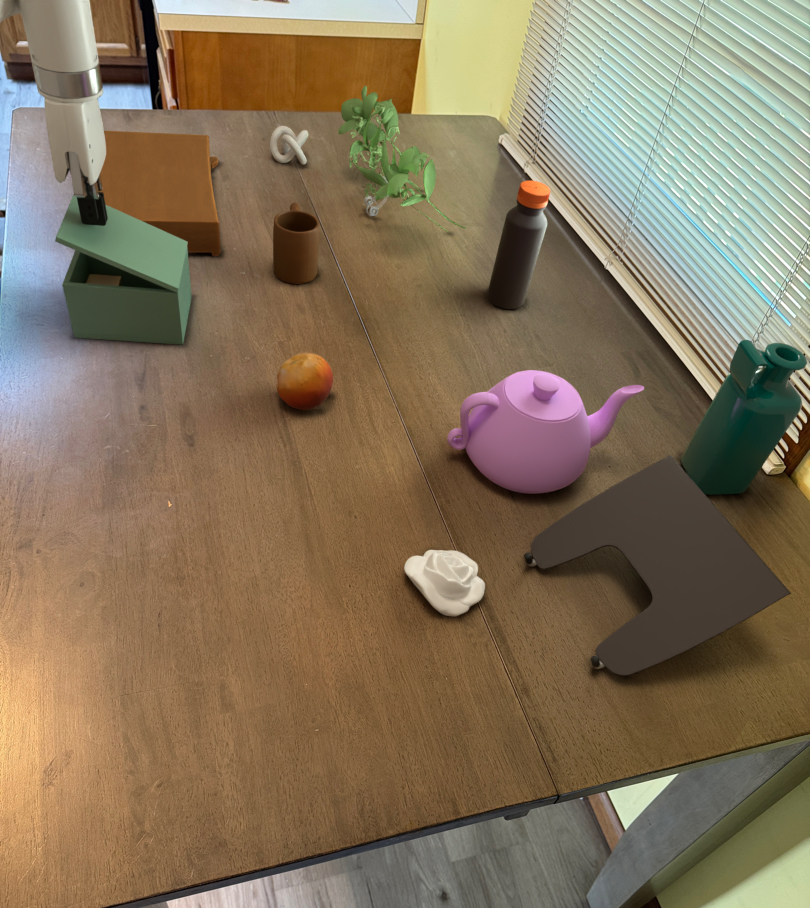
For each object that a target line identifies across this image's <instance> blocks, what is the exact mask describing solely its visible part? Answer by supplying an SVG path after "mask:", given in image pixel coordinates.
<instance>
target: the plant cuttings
mask: <svg viewBox="0 0 810 908" xmlns="http://www.w3.org/2000/svg"><path fill="white" fill-rule="evenodd" d="M367 93H368V85H364V86H363V87H362V89H361V99H360V98H358V97H354V98H350V99H347V100H345V101H343V103H341V106H340V107H341V108H340V115H341V118H342V120H343V121H344V123H343V124H342V125H340V127H339V128H338V132H337V134H338V135H342V134H343V135H344V134H345V133H347V132H350V137H351V138H355V137H357V136H358V135H359V136H361V137H362V139H363V141H362V140H359V139H357V140H355V141H354V142H353V143H352V144H351V145H350V148H349V158H348V163H349V169H352V167H353V165H354V166H355V167H356V168H357V169H358V170H359V172H360V173H361V174H362V175H363V176H364V177H365V178H366V179H367V180H369V181H370V182H369V183H367V184H365V186H366V187H365V188H364V196H365V197H363V198H364V199H363V204H364V206H366V210H368V209H369V212H368V211H366V213H367V215H368V217H373V216H374V217H375V216H377V215H378V213H379V210H380V209H381V208H382V206H383V205H384V204H385V203H386V202H387V201H388V199H389V198H393V199H398V198H399V199H401V200H403V199H404V200H403V201H402V202H401V203H400V207H408V206H411V207H413V208H414V209H415V210H416V211H417V212H419V213H421V214H422V215H423V216H424V217H426V219H429V221H431V222H432V223H434V224H435V225H437V226H438V227H439V228H441V229H443V230H444V231H445V232H448V233H449V231H448V230H447V229H446V228H444V227H443V226H442V225H440V224H438V223H437V222H436V221H434V220H433V219H432V218H430V217H429V216H428V215H426V214H424V213H423V212H421V211H420V210H419V209H417V208H416V207H414V205H415V204H418V203H420V202H422V201H424V200H425V201H426V203H429V204H430V205H431V206H432V207H433V208H434V209H435V210H436V211H437V212H438V213H439V214H440V215H441V216H442V218H444V219H446V220H447V221H448V222H451V223H452V224H453V225H455V226H457V227H459V228H462V229H464V230H466V229H467V227H466V226H465V227H464V226H462V225H460V224H458V223H456V222H455V221H454V220H452V219H450V218H449V217H448V216H447V215H445V214H444V213H443V212H442V211H441V210H439V208H437V207H436V206H435V204H434V203H432V201H430V199H431V197H432V195H433V192H434V190H435V186H436V179H437V171H436V170H437V169H436V165H435V163H434V161H433V160H434V159H433V158H430V160H429V161H428V162H427V158H429V157H431V156H432V154H430V155H428V154H427V152H420V149H419V148H418V146H416V145H414V146H411V147H409V148H406V149H405V150H404V151H403V152H402V151H401V149H399V148H398V147H397V146H396V145H395V141H396V140H397V138H398V135H400V134H401V132H400V129H399V127H400V126H399V116H398V111H397V108H396V107H395V105H394V103H393V102H392V100H393V98H389V99H388V100H383V101H378V98H379V95H378V93H377V92H374V91H371V92H370V93H369V94H368V95H367ZM375 115H378V116H375ZM379 117H380V118H379ZM372 118H373V119H375V120H376V123H377V125H376V124H375V123H374V122H373V121H372ZM378 125H379V126H378ZM382 125H383V128H384V129H382ZM352 130H353V131H352ZM356 132H357V133H356ZM395 134H398V135H395ZM387 142H388V143H390V144H391V145H392V156H391V157H392V158H391V163H390V161H389V155H388V147H387ZM379 144H380V145H379ZM395 149H396V150H395ZM365 151H367V152H366V154H367V156H369V159H368V160H367V159H366V158H365V156H364V155H363V152H365ZM396 151H397V152H396ZM369 153H370V154H369ZM396 153H397V154H398V156H399V159H398V160H399V161H398V164H397V157H396ZM358 156H359V157H358ZM360 158H361V161H363V162H367V163H368V167H369V168H366V167H361V166H358V164H357V163H359V161H358V160H360ZM379 162H380V165H378V164H379ZM426 162H427V163H426ZM425 163H426V164H425ZM378 168H380V170H381V172H380V171H379V172H377V171H376V169H378ZM420 171H421V172H422V171H423V173H422V175H423V176H422V178H423V179H422V180H423V181H422V182H423V188H424V189H423V190H424V194H423V193H422V192H421V191H420V190H421V188H420V187H419V186H418V185H417V184H416V183H415V182H413V181H412V180H410V179H409V176H410V174H409V173H410V172H411V173H412V174H414V175H415V176H416V178H418V177H419V174H420ZM371 183H373V184H371ZM406 183H408V184H409V185H411V186H412V187H413V188H414V189H415V190H416V191H417V192H418V193H416V192H415V191H414V189H413V188H411V187H407V184H406ZM376 187H378V190H377V189H376ZM403 187H404V188H405V189H404V188H403ZM408 192H410V193H411V196H410V195H409V193H408ZM369 193H371V194H369ZM371 195H374V196H373V197H372V196H371ZM405 198H406V199H405ZM379 200H382V201H380V203H379V204H378V203H377V202H378V201H379ZM373 203H375V205H376V206H374V205H373Z"/></svg>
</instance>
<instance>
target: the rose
mask: <svg viewBox="0 0 810 908" xmlns="http://www.w3.org/2000/svg"><path fill="white" fill-rule="evenodd" d="M403 568H404V569H403V570H404V573H405V574H406V576H408V578H409V580H410V581H411V582H412V584H413V585H414V586H415V587H416V588H417V589H418V590H419V592H420V593H421V594H422V595H423V597H424V598H425V599H426V601H427V602H428V603H429V604H430V605H431V607H432V608H434V609H435V610H436V611H437V612H438V613H440V614H442V615H443V616H448V617H458V616H460V615H463V614H465V613H467V612H468V611H469V610H470V608H471V607H472V606H475V604H477V603H479V602H480V601H481V600H482V599H483V597H484V595H485V589H486V583H485V581H484V580H483V579H482V578H481V577H479V576H478V572H479V565H478V563H477V562H476V561H475V560H473V559H471V558H470V557H469V556H468V555H466V554H465V553H463V552H461V551H459V550H453V549H450V550H443V549H438V550H436V549H429V550H426V551H425V552H424V554H423V555H412V556H410V557H409V558H408V559H407V560H406V561H405V563H404V567H403Z"/></svg>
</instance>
